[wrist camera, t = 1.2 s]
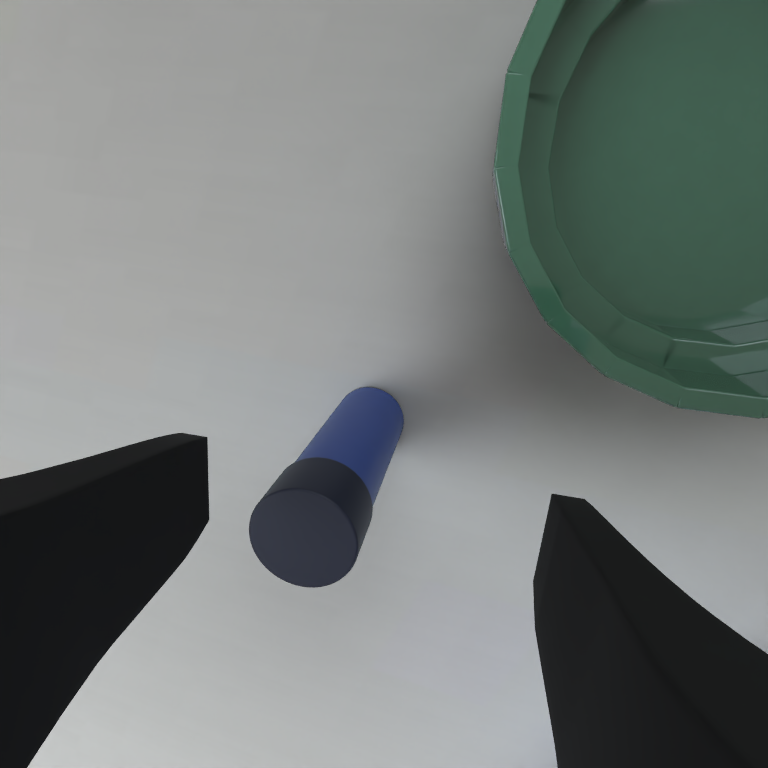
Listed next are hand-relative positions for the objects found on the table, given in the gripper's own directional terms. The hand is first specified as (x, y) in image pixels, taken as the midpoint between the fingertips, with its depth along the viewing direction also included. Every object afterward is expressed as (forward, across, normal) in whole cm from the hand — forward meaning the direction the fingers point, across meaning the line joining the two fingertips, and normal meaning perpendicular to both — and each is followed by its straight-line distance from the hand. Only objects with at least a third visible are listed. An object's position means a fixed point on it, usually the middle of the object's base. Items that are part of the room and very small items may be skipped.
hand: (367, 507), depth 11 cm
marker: (+10, +2, +2) cm, 10 cm away
